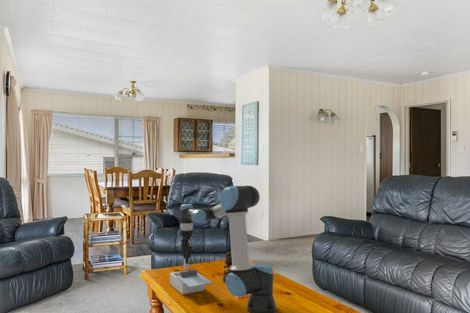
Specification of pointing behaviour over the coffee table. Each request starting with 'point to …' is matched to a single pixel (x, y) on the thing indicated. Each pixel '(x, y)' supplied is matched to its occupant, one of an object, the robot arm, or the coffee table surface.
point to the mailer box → (183, 285)
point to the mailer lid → (193, 278)
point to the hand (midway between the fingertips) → (186, 268)
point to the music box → (227, 265)
